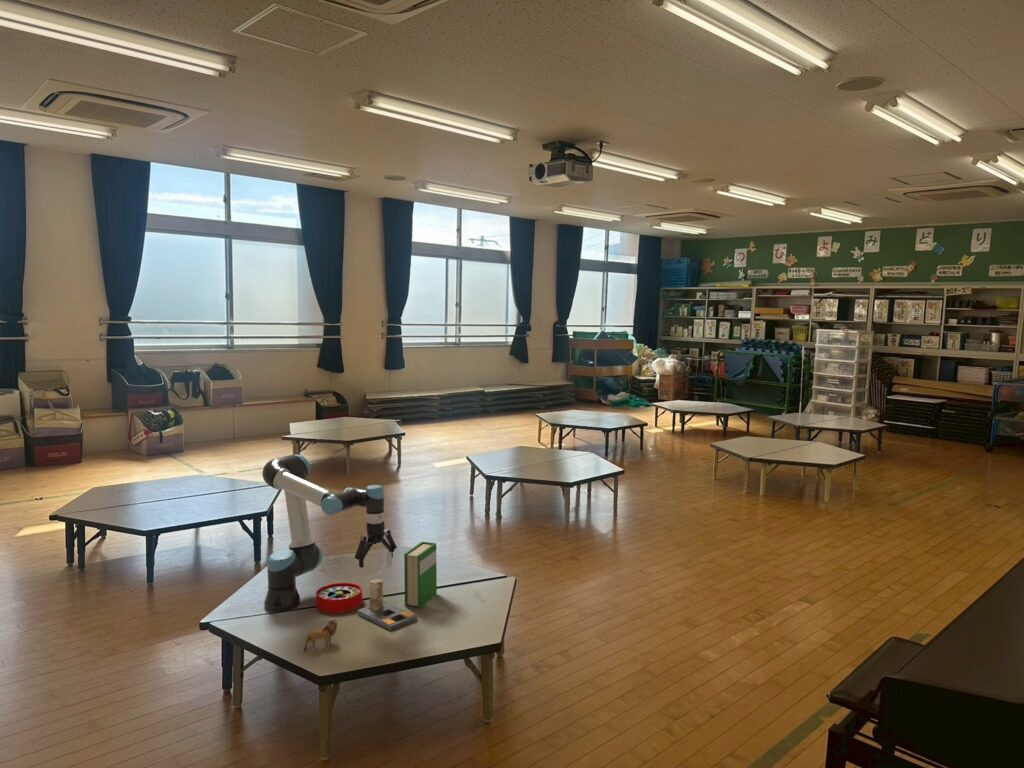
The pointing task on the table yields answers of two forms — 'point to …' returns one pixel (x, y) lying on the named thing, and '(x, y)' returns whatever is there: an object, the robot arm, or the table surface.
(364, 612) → the slotted board
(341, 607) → the toy clock
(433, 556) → the hardback book
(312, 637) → the lion figurine
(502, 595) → the table surface
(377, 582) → the peg
